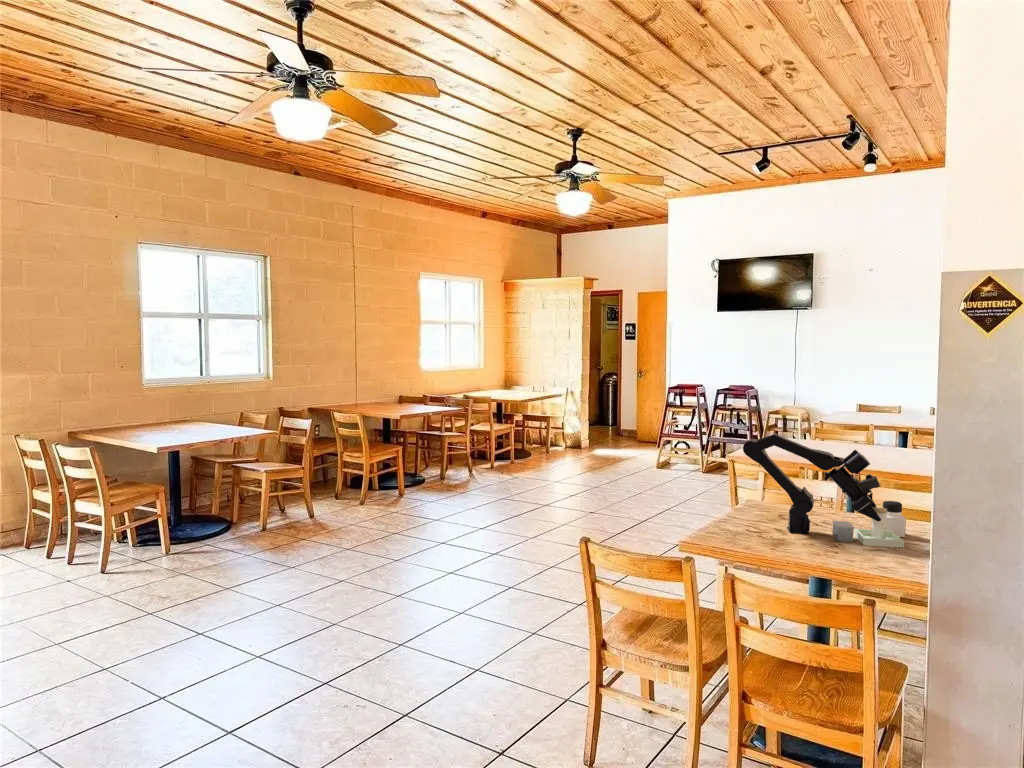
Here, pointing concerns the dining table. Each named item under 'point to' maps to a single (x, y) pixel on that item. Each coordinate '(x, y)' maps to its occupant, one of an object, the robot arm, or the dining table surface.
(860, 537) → the tray
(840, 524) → the box
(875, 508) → the fuse
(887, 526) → the medicine bottle
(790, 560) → the dining table surface
